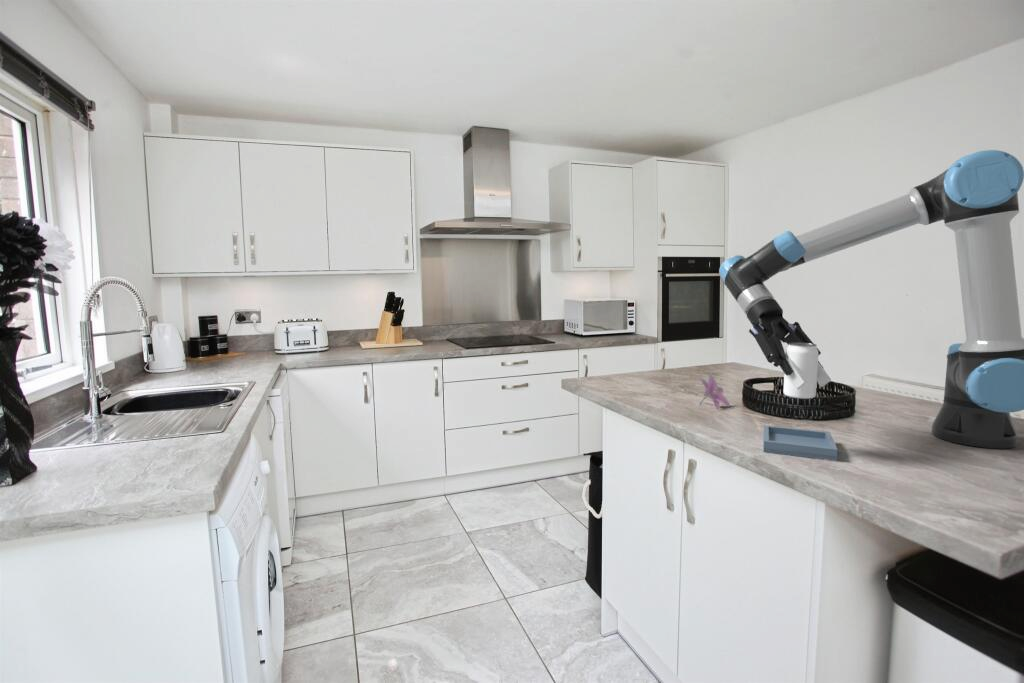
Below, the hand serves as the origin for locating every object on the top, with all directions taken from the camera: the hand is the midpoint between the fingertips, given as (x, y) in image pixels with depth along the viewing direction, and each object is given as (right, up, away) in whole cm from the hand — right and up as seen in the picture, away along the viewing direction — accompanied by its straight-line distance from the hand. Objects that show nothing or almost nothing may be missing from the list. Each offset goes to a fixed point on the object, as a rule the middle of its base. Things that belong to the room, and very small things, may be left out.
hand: (813, 384), depth 112 cm
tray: (-1, -15, +5) cm, 16 cm away
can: (-1, -3, +4) cm, 5 cm away
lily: (-5, -11, +43) cm, 45 cm away
